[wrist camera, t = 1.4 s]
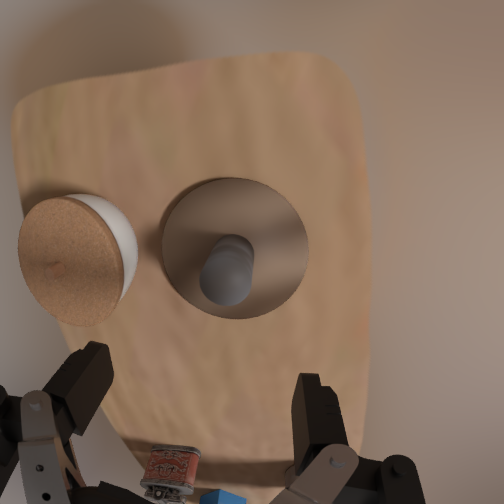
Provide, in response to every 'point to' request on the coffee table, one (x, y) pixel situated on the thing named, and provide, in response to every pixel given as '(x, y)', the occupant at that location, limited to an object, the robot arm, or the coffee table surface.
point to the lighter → (170, 473)
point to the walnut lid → (235, 248)
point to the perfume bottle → (221, 498)
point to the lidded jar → (77, 257)
